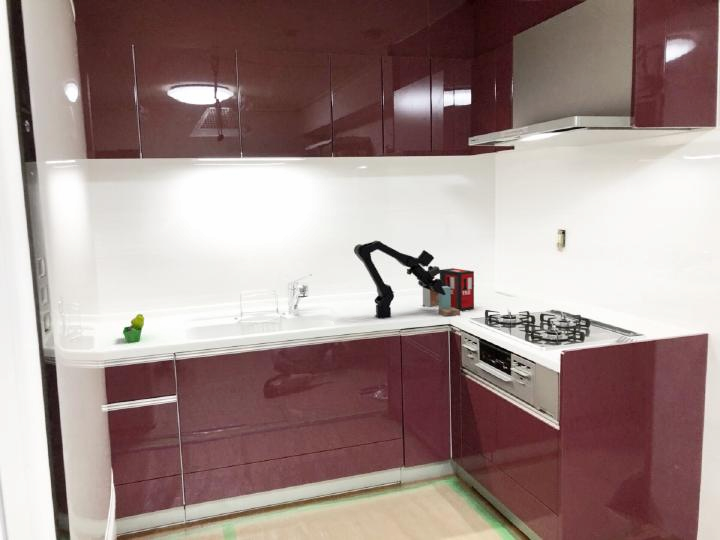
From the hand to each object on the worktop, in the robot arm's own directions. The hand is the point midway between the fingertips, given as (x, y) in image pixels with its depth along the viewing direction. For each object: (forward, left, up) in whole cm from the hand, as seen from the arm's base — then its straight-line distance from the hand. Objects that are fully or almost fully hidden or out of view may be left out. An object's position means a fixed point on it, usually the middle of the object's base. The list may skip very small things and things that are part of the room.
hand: (440, 293), depth 301 cm
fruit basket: (-148, +3, -10) cm, 148 cm away
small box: (+2, +16, -10) cm, 19 cm away
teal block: (+2, 0, -9) cm, 10 cm away
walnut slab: (0, -9, -9) cm, 13 cm away
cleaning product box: (+11, +4, -10) cm, 15 cm away
